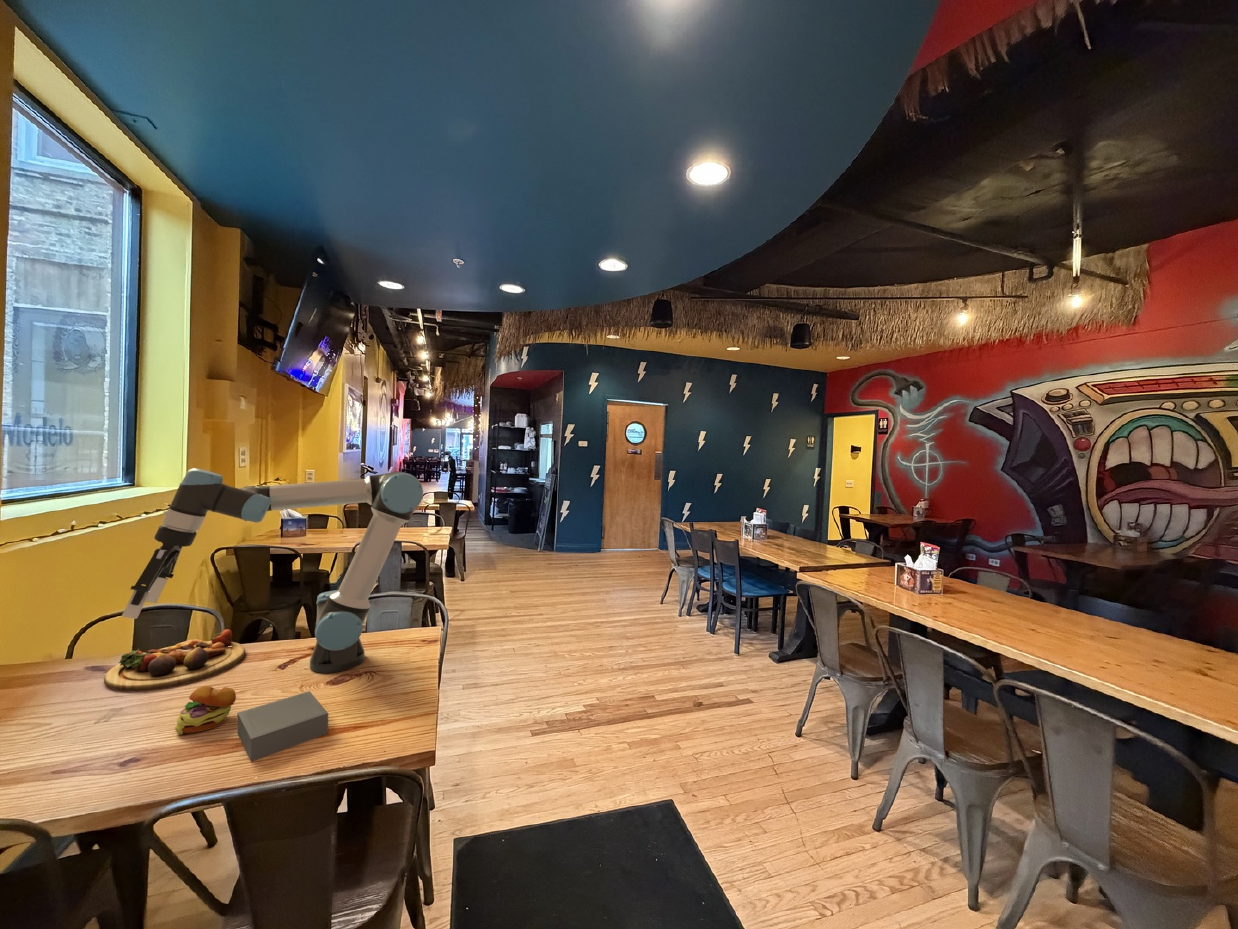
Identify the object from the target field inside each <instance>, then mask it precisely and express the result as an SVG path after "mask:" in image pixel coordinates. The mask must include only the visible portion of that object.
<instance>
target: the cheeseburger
mask: <svg viewBox="0 0 1238 929" xmlns="http://www.w3.org/2000/svg"><path fill="white" fill-rule="evenodd" d="M188 699H189V700H191V701H188V702H186V704H185V705H184V708H183V709H182V710H181V711H180V713H179V716H178V717H177V719H176V723H177V724H176V725H175V728H174V731H175V732H176V733H177V734H178V735H180V736H181V735H183V734H188V733H189V734H190V733H198V732H203V731H207V730H212V729H215V728H216V727H219V726H221V725H222V724H223V723H224V722H225V721H226V718H227V716H229V714H230V712H231V709H232V706H233V705H235V702H236V699H237V694H236V691H235V690H234V689H233V688H232V687H228V686H227V687H226V686H225V687H223V688H220V689H216V688H214V687H213V686H210V685H205V686H200V687H198V688H196V689H195V690H193V691H192V693H190V695H189V697H188Z"/></svg>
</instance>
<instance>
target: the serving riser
mask: <svg viewBox="0 0 1238 929" xmlns="http://www.w3.org/2000/svg"><path fill="white" fill-rule="evenodd" d="M236 718H237V725H236V726H237V727H236V728H237V729H236V730H237V731H236V732H237V736H238V737H239V740H240V742H241V744H242V746H243V748H244V751H245V752H246V755H247V756H248V760H249V761H250V762H253V761H257V760H259V759H262V758H264V757H268V756H270V755H273V754H276V753H279V752H281V751H284V750H287V749H289V748H292V747H295V746H298V745H302V744H304V743H305V742H308V741H311V740H314V739H317V738H320V737H323V736H325V735H328V734H329V712H328V711H327V710H326V709H325V708H324V707H323V705H322V704H321V702H320V701H319V700H318V699H317V698H316V697H315V696H314V695H313V693H312V692H311V691H310V690H309V691H304V692H302V693H299V694H295V695H291V696H288V697H286V698H282V699H278V700H275V701H272V702H268V703H264V704H263V705H259V706H255V707H251V708H248V709H245V710H241V711H238V712H237V716H236Z"/></svg>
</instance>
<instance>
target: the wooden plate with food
mask: <svg viewBox="0 0 1238 929" xmlns="http://www.w3.org/2000/svg"><path fill="white" fill-rule="evenodd" d="M232 640H233V632H232V630H231V629H223V630H222V631H220V632H219V631H218V633H216V635H214V636H212V637H211V638H210V640H201V639H198V638H193V639H188V640H185V641H183V642H179V643H176V644H175V645H171V646H168V647H167V646H166V647H163V648H159V649H154V648H153V649H148V650H146V651H145V653H143V651H141V650H140V648H137V650H131V651H128V652H127V653H123V655H121V658H120V660H119V662H118V664H116V665H115V666H113V667H112V668H111V669H109V670H108V671H107V673H105V676H103V677H104V678H103V682H104V684H105V685H106V686H107V687H108V688H109V689H112V690H115V691H121V692H147V691H155V690H156V691H157V690H161V689H167V688H173V687H177V686H182V685H185V684H186V685H187V684H190V683H193V682H196V681H200V680H203V679H206V678H209V677H212V676H214V675H218V674H219V673H222V672H224V671H227V670H229V669H230V668H232V667H233V666H235V665H236V664H238V663H240V661H242V659H243V658H244V657H245V655H246V649H245V647H244V646H243V645H242V644H241V643H238V642H234V641H232ZM228 646H232V647H228Z"/></svg>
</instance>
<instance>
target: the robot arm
mask: <svg viewBox="0 0 1238 929" xmlns="http://www.w3.org/2000/svg"><path fill="white" fill-rule="evenodd" d="M223 482H224V476H223V475H221V474H219V473H216V472H213V471H209V470H206V469H201V468H190V469H188V471H187V472H186V474H185V475H184V477H183V479H182V481H181V482H180V483H179V486H178V488H177V490H176V493H175V494H174V496H173V498H172V500H171V503H170V505H169V508H168V509H167V510H163V513H162V514H164V517H163V519H162V524H161V525H159V526H158V529H157V531H156V533H155V535H154V538H153V539H154V540H156V542H159V543H162V545H161V546H160V547H159V548H156V549H155V550H154V552H153V554H152V556H151V558H150V559H149V561H148V563H147V565H146V566H145V567H144V570H143V572H142V573H141V574H140V576H139V578H138V579H137V581H136V583H135V584H134V585H131V587H130V590H133V592H132V594H131V597H130V598H129V600H128V602H127V604H126V606H125V609H124V610H123V613H122V614H121V617H122V618H129V619H135V620H136V619H138V617H139V615H140V613H141V611H142V609H143V608H144V605H145V603H146V602H147V603H152V604H156V603H157V602H158V600H159V598H160V596H161V594H162V592H163V590H164V588H165V586H166V584H167V582H168V580H169V579H173V578H174V575H175V574H174V569H175V567H176V565H177V562H178V559H179V556H180V554H181V551H182V549H183V548H184V547H190V546H192V545H193V543H194V541H195V539H196V536H197V534H198V533H197V531H200V529H201V526H202V524H203V522H204V520H205V518H206V516H207V513H208V512H213V513H218V514H220V515H225V516H227V517H232V518H235V519H240V520H243V521H245V522H252V523H257V524H258V523H261V522H262V521H263V520H264V518H265V516H266V513H267V512H270V511H282V510H284V511H285V510H291V509H293V510H295V509H303V508H304V509H305V508H315V507H316V508H318V507H328V506H330V507H331V506H339V505H349V504H352V505H353V504H361V503H364V504H365V503H367V504H368V505H370V506H371V507H370V509H371V513H372V517H371V519H370V521H369V523H368V526H367V527H366V530H365V532H364V534H363V536H362V539H361V540H360V543H359V545H358V547H357V548H356V552H355V554H354V556H353V558H352V560H351V562H350V564H349V566H348V569H347V570H346V572H345V575H344V577H343V579H342V582H341V583H340V585H339V588H338V589H336V590H335V589H334V590H329V591H324V592H321V593H319V594H318V595H317V599H316V602H315V603H316V621H315V628H314V637H315V639H316V643H315V645H314V648H313V651H312V654H311V657H310V659H309V669H310V670H311V672H315V673H318V674H320V673H321V674H330V673H331V674H332V673H338V672H343V671H347V670H350V669H352V668H355V667H357V666H358V665H361V664H362V663H363V662H364V661H365V652H366V651H365V649H364V646H363V644H362V641H361V635H362V633H363V629H364V627H363V626H364V625H363V624H364V622H365V619H366V618H367V616H368V612H369V611H370V609H371V606H372V605H371V604H370V602H369V598H370V595H371V593H372V591H373V589H374V587H375V585H376V583H377V580H378V578H379V575H380V573H381V571H382V569H383V567H384V565H385V562H386V561H387V559H388V556H389V554H390V552H391V550H392V547H393V545H394V542H395V541H396V538H397V537H398V534H399V532H400V530H401V528H402V525H404V524H407V523H408V522H410V520H411V518H412V516H413V514H414V512H415V510H416V508H418V507H419V506H420V504H421V503H422V500H423V496H424V489H423V486H422V482H421V481H420V480H419V479H418V478H417V477H416V476H415V475H413V474H411V473H407V472H404V471H400V470H399V471H398V470H397V471H392V472H386V473H381V474H373V475H367V476H366V477H365V478H361V479H360V478H359V479H346V480H330V481H317V482H303V483H289V484H288V483H287V484H286V483H285V484H276V485H275V484H271V485H261V486H256V485H249V486H247V485H246V486H244V487H241V488H237V487H236V486H235V487H233V486H231V485H228V484H226V483H223Z"/></svg>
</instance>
